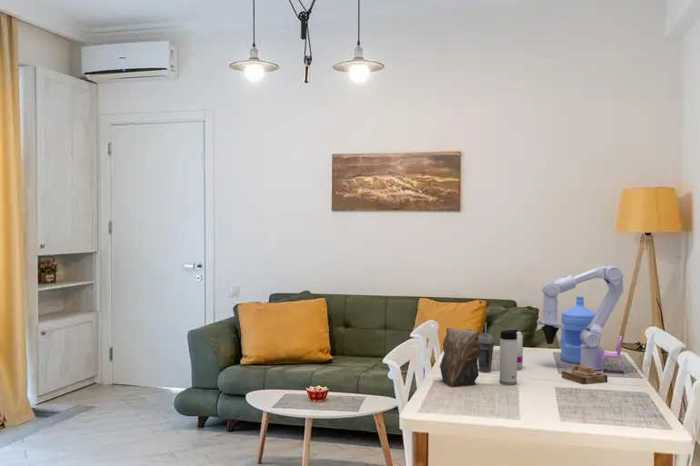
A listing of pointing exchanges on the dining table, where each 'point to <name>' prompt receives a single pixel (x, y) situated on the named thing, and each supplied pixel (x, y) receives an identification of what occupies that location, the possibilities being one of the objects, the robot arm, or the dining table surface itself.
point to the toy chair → (614, 355)
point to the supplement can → (519, 350)
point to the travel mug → (508, 357)
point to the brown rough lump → (460, 357)
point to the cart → (583, 370)
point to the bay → (585, 378)
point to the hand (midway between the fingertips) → (549, 343)
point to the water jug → (574, 330)
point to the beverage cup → (485, 351)
